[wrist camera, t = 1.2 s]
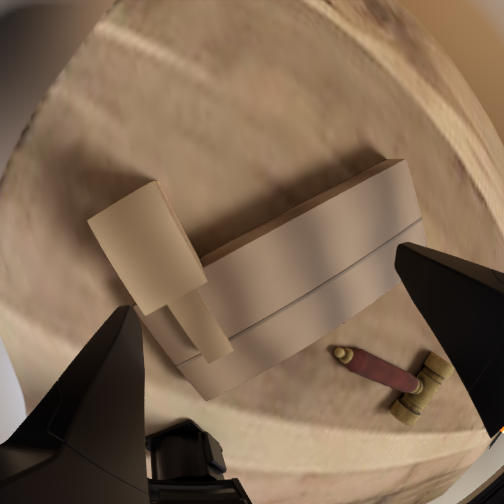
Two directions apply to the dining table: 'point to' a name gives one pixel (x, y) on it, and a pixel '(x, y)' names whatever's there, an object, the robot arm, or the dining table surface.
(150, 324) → the plank
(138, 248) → the block
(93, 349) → the robot arm
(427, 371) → the gavel
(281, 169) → the dining table surface
